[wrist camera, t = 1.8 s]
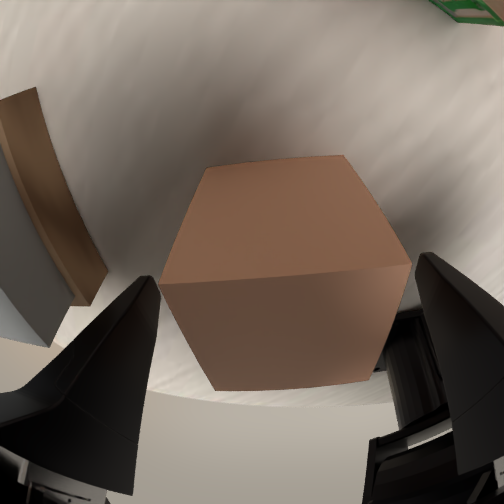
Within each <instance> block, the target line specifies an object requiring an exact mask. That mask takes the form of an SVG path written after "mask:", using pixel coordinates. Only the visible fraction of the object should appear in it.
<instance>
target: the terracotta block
mask: <svg viewBox="0 0 504 504" xmlns="http://www.w3.org/2000/svg"><path fill="white" fill-rule="evenodd" d="M411 267H412V262H411V260H410V259H409V257H408V255H407V253H406V251H405V250H404V248H403V246H402V244H401V242H400V241H399V239H398V237H397V236H396V234H395V232H394V230H393V229H392V227H391V225H390V224H389V222H388V220H387V219H386V217H385V216H384V214H383V212H382V211H381V209H380V208H379V206H378V204H377V203H376V201H375V200H374V198H373V197H372V195H371V194H370V192H369V191H368V189H367V188H366V186H365V185H364V183H363V182H362V180H361V179H360V177H359V176H358V175H357V173H356V172H355V170H354V169H353V168H352V166H351V165H350V163H349V162H348V161H347V159H346V158H345V157H344V155H335V156H315V157H300V158H287V159H276V160H265V161H256V162H247V163H238V164H230V165H222V166H215V167H208V168H206V170H205V172H204V174H203V176H202V179H201V181H200V183H199V185H198V188H197V190H196V192H195V194H194V196H193V199H192V201H191V203H190V206H189V208H188V210H187V213H186V215H185V217H184V220H183V222H182V224H181V227H180V229H179V232H178V234H177V237H176V239H175V242H174V244H173V247H172V249H171V252H170V254H169V257H168V259H167V262H166V264H165V267H164V270H163V272H162V275H161V278H160V280H159V283H158V285H159V287H160V290H161V292H162V294H163V296H164V298H165V300H166V302H167V304H168V306H169V308H170V310H171V312H172V314H173V316H174V318H175V320H176V322H177V324H178V326H179V328H180V329H181V331H182V333H183V335H184V337H185V339H186V341H187V343H188V344H189V346H190V348H191V350H192V352H193V353H194V355H195V357H196V359H197V361H198V362H199V364H200V366H201V368H202V369H203V371H204V373H205V374H206V376H207V378H208V380H209V381H210V383H211V385H212V386H213V388H214V390H215V391H263V390H284V389H299V388H311V387H321V386H330V385H338V384H346V383H353V382H360V381H366V380H369V379H370V376H371V374H372V372H373V370H374V368H375V365H376V363H377V361H378V359H379V356H380V354H381V352H382V349H383V347H384V344H385V342H386V340H387V337H388V335H389V332H390V329H391V327H392V324H393V321H394V319H395V316H396V313H397V310H398V308H399V305H400V302H401V299H402V296H403V293H404V290H405V287H406V283H407V280H408V277H409V273H410V270H411Z"/></svg>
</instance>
